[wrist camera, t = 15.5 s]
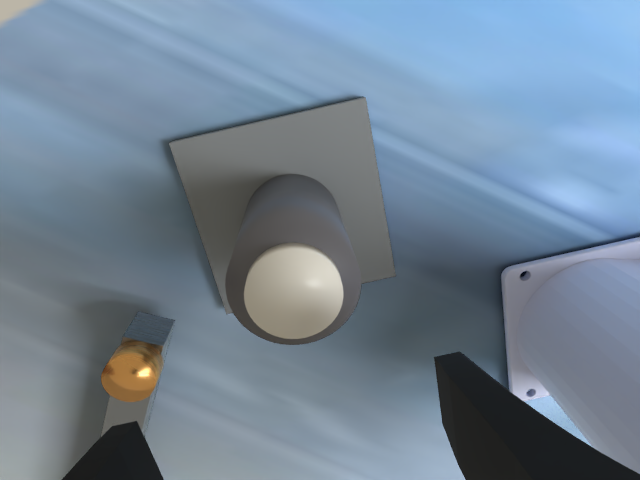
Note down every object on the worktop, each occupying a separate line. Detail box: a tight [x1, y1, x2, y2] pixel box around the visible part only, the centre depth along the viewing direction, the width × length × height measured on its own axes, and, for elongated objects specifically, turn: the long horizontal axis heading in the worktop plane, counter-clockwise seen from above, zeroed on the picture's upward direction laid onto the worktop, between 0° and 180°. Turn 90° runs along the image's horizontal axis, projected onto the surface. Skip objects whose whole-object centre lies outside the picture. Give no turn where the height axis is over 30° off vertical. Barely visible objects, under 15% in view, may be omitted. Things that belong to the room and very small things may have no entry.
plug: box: [225, 174, 361, 345], centre depth 16 cm, size 4×4×7 cm
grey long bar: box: [101, 311, 175, 437], centre depth 20 cm, size 16×3×3 cm, turn 161°
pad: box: [169, 97, 396, 314], centre depth 19 cm, size 8×8×1 cm
